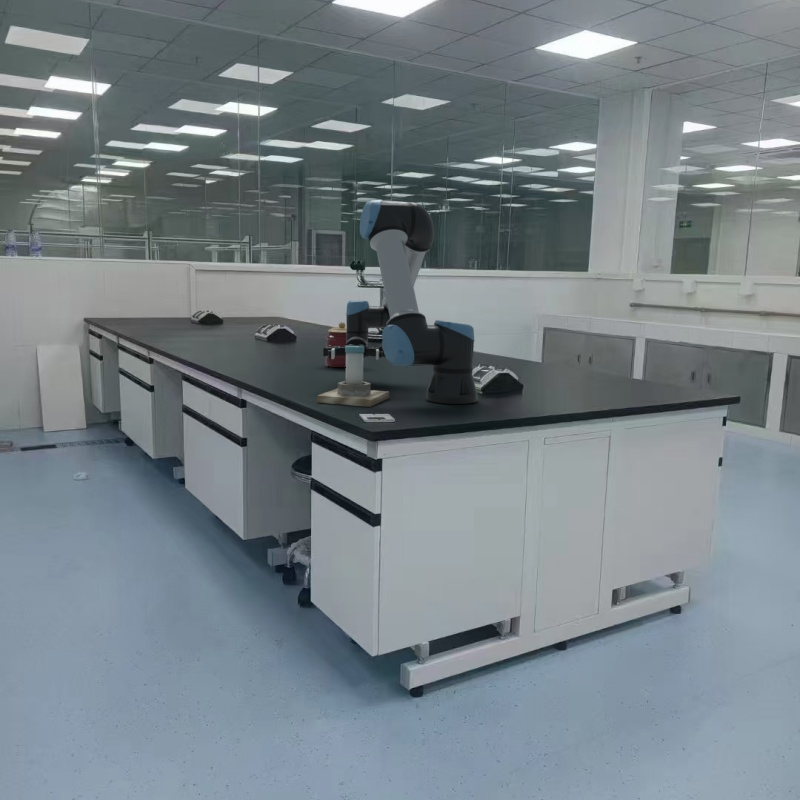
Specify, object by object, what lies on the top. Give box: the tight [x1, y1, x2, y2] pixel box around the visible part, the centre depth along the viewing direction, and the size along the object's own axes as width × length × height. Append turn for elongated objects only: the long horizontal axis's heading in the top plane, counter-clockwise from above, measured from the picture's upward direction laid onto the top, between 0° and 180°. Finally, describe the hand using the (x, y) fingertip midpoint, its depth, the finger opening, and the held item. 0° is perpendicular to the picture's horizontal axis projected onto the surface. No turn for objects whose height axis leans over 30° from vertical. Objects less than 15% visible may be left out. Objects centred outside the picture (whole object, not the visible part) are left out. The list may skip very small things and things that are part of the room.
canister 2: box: [345, 346, 364, 385], centre depth 205 cm, size 5×5×14 cm
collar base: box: [316, 380, 390, 408], centre depth 206 cm, size 16×16×5 cm
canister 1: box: [325, 321, 347, 369], centre depth 283 cm, size 13×13×18 cm
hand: (355, 354), depth 215 cm, fingers open, 13 cm apart
